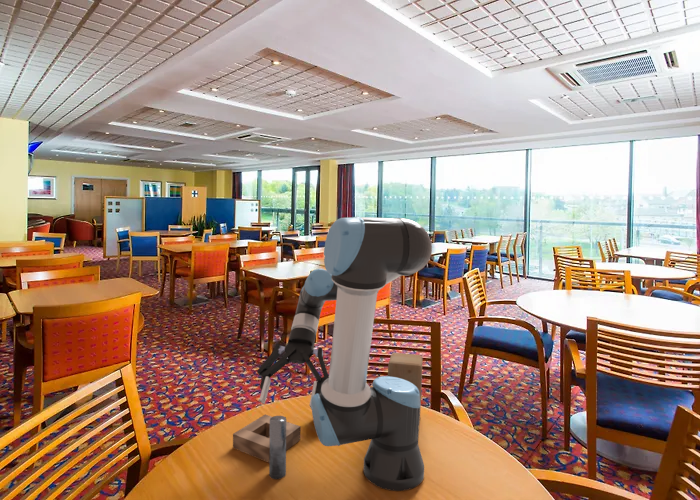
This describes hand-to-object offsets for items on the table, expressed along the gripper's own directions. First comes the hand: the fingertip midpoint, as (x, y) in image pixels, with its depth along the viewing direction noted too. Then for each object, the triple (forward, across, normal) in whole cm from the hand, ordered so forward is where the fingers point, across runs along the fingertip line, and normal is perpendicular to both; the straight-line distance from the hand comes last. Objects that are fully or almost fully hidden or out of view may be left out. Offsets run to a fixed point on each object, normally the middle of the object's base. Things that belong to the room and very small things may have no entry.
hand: (286, 404), depth 111 cm
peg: (+16, -1, -4) cm, 16 cm away
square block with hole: (+7, +7, -12) cm, 16 cm away
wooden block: (-8, -30, -28) cm, 42 cm away
